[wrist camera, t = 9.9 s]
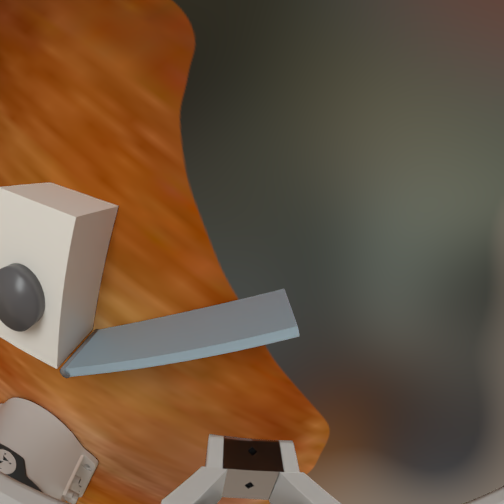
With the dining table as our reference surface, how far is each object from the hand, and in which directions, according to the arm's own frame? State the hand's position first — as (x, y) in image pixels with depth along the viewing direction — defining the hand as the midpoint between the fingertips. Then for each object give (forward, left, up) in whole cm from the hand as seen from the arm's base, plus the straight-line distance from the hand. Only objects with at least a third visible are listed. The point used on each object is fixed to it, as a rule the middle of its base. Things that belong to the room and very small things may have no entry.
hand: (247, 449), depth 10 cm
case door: (-5, +4, -19) cm, 20 cm away
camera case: (-4, +17, -19) cm, 26 cm away
